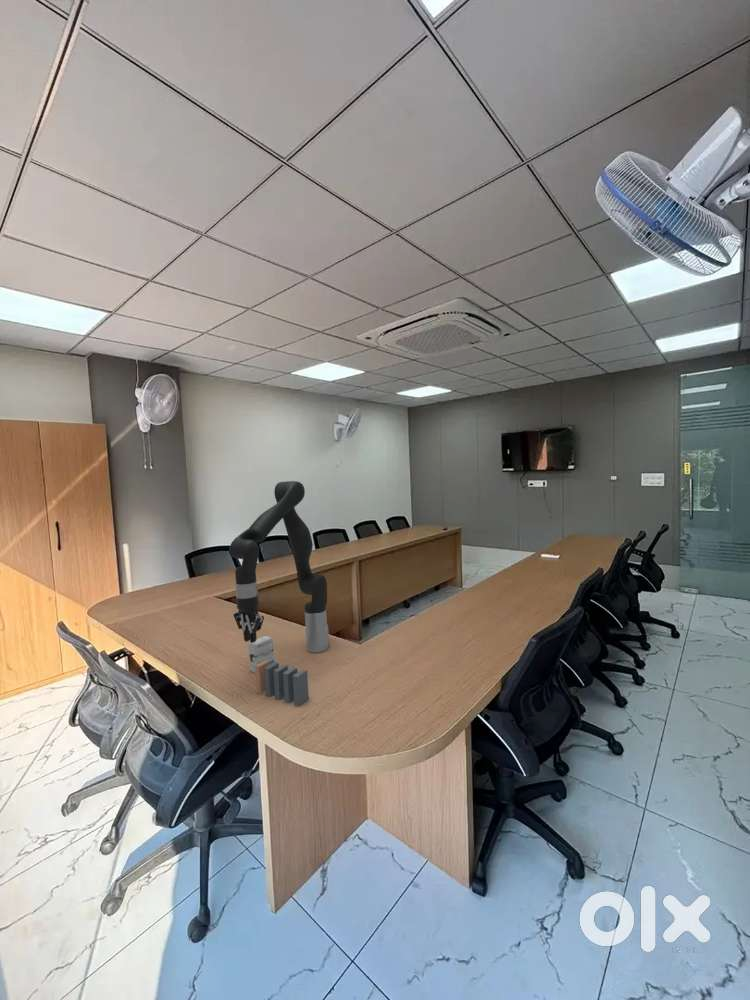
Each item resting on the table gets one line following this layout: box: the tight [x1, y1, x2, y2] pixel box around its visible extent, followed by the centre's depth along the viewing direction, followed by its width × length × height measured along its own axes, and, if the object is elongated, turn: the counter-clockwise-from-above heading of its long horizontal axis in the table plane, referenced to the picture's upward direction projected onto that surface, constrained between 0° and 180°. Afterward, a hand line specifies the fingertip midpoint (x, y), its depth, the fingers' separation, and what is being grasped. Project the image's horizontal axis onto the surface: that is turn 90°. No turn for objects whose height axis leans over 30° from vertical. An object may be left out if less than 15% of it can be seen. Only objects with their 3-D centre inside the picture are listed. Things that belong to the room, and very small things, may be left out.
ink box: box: [248, 635, 275, 674], centre depth 163 cm, size 8×5×12 cm, turn 141°
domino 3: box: [273, 664, 289, 701], centre depth 142 cm, size 2×5×10 cm, turn 150°
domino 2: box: [264, 661, 280, 698], centre depth 144 cm, size 2×5×10 cm, turn 150°
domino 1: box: [254, 660, 270, 695], centre depth 146 cm, size 2×5×10 cm, turn 149°
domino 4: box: [283, 666, 299, 704], centre depth 139 cm, size 2×5×10 cm, turn 150°
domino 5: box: [293, 668, 310, 707], centre depth 137 cm, size 2×5×10 cm, turn 150°
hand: (250, 641), depth 148 cm, fingers closed
